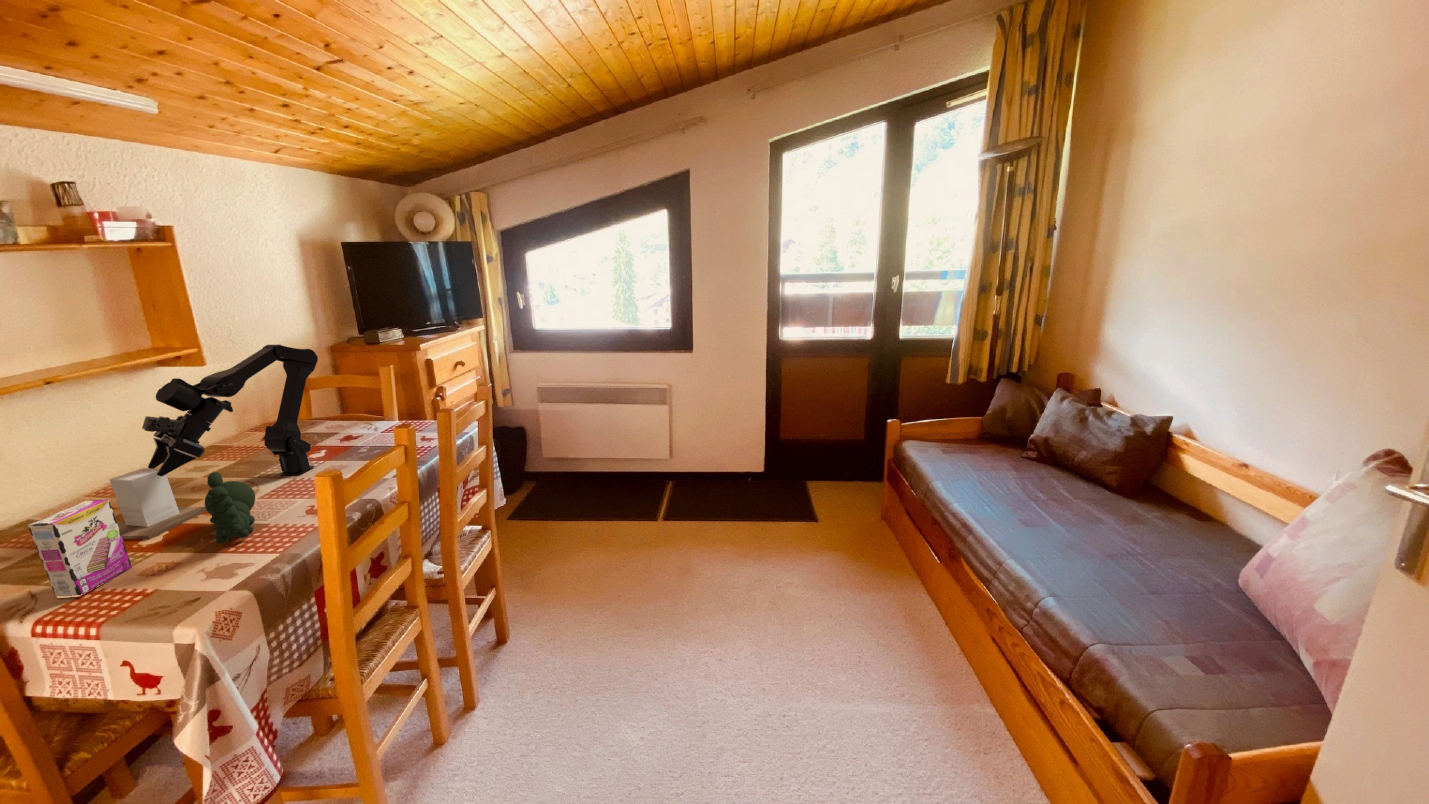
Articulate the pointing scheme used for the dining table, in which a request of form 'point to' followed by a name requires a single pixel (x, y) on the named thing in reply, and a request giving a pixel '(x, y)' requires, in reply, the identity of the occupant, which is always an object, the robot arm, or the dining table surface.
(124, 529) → the walnut board
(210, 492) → the toy figurine
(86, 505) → the candy bar box
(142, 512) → the supplement box
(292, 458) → the robot arm
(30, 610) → the dining table surface
